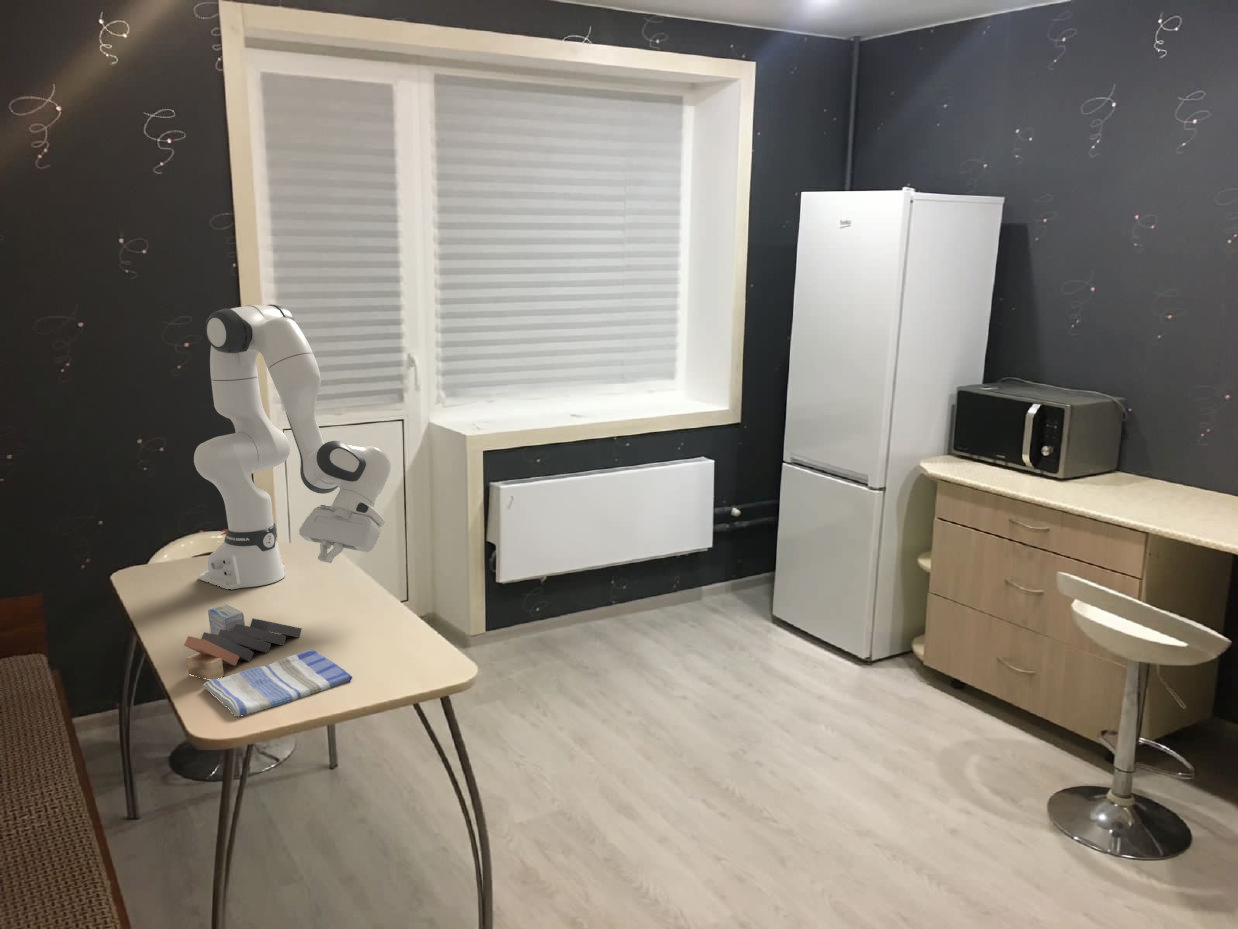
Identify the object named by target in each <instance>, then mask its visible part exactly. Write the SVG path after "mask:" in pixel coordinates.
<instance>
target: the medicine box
mask: <svg viewBox="0 0 1238 929" xmlns="http://www.w3.org/2000/svg"><path fill="white" fill-rule="evenodd" d="M207 612H208V622H209V630H210V634H214V635H218V634H219V632H220V629H222V630H227V631H232V632H234V629H235V626H236V624H239V625H244V626H246V624H245V615H244V612H243V611H241V610H238V608H235V607H233V606H231V605H229V604H223V605H219V606H215V607H213V608H210V609H208V610H207ZM244 648H246V647H244ZM246 649H248V650H249V648H246Z"/></svg>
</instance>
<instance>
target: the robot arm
mask: <svg viewBox="0 0 1238 929" xmlns="http://www.w3.org/2000/svg"><path fill="white" fill-rule="evenodd" d="M205 323H206V324H205V335H206V338H207V340H208V342H209V344H210V354H209V355H210V356H209V368H210V369H209V370H210V381H211V389H212V390H211V391H212V399H213V407H214V408H215V411H216V412H217V413H218V414H219V415H221V416H223V417H225V418H226V419H229V420H231V423H232V424H233V427H234V430H235V433H234V432H233V433H230V434H224V435H219V436H215V437H212V438H210V439H208V440H205V441H204V442H202V443H200V444H199V445H198V446H197V447H196V449H195V451H194V455H193V463H194V464H193V465H194V466H195V469H196V471H197V472H198V474H199V475H200V476H201V477H202V478H203V479H205V480H207V481H209V482H210V483H212V484H213V485H214V487H216V488H217V490H218V491H219V493H220V495H221V497H222V499H223V502H224V507H225V508H224V509H225V513H226V521H227V526H228V528H226V529H223V530H220V532H221V535H222V536H223V535H224V536H225V537H224V542H223V543H222V544H220V545H219V546H218V547H217V548H216V549H215V550H214V551H213V552H211V553H210V554H209V556H208V559H207V570H205V571H204V572H201V573H200V574H199V577H198V579H199V580H200V581H202V582H205V583H208V582H209V583H208V584H211V585H214V586H216V585H217V586H216V587H219V586H220V588H223V589H225V590H228V589H231V590H236V589H242V588H253V587H254V588H255V587H260V586H261V587H262V586H265V585H269V584H273V583H277V582H278V581H280V580H282V579H283V578H285V577H286V571H285V570H286V565H285V564H283V561H282V555H281V550H280V546H279V543H278V540H277V537H278V535H277V534H278V533H277V527H276V523H274V522H275V521H274V515H273V514H274V513H273V506H272V505H273V504H272V497H271V495H270V494H269V493H268V492H267V491H266V490H265V489H262V488H259V487H258V486H256V485H255V483H254V481H253V477H252V475H253V474H255V473H259V472H263V471H267V470H271V469H273V468H275V467H278V466H279V465H282V463H284V462H286V460H287V459H289V455H290V452H291V445H290V441H289V439H288V437H287V436H286V434H285V433H284V432H283V430H281V429H279V428H278V427H276V426H275V425H274V424H273V423H272V422H271V420H270V418H269V417H268V415H267V413H266V412H265V409H264V406H263V401H262V395H261V387H260V380H259V379H260V378H259V373H258V365H257V356H258V355H259V353H260V354H261V355H262V357H263V359H264V361H265V365H266V367H267V369H268V373H269V375H270V377H271V380H272V382H273V384H274V388H275V389H276V391H277V393H278V395H279V398H280V400H281V404H282V407H283V409H284V411H285V414H286V418H287V420H288V423H289V427H290V430H291V434H292V436H293V438H294V442H295V443H296V448H297V450H298V453H299V458H300V469H299V470H300V472H299V474H300V479H301V481H302V483H303V485H305V487H306V488H307V489H309V491H311V492H313V493H316V494H323V495H324V494H329V493H333V492H334V491H336V489H338V488H339V491H338V493H337V495H336V497H335V498H334V499H333V502H332V504H331V505H326V504H325V505H324V504H320V505H318V506H316V507H314V508H313V509H312V511H311V512H310V513H309V514H308V516H307V517H306V518H305V520H304V521H303V523H302V525H301V527H299V529H298V532H299V533H298V534H299V535H300V537H302V539H304V540H305V541H308V542H312V543H317V544H319V545H320V546H319V548H320V550H319V551H320V552H319V553H318V555H317V560H319V561H320V562H322V563H323V562H324V563H328V564H332V562H333V561H334V559H335V558H336V557H337V556H338V555H339V554H340V553H342V552H343V550H344V549H348V550H353V551H356V552H357V551H358V552H364V553H370V552H371V551H372V550H374V548H375V547H376V544H377V542H378V540H379V538H380V535H381V532H382V531H381V530H382V529H381V528H382V527H383V526H384V525H385V523H386V520H385V519H384V517H383V516H382V515H381V514H380V513H379V512H378V511H377V510H376V509H374V507H375V502H376V499H377V497H379V495H380V494H381V493H382V491H383V489H384V487H385V485H386V482H387V481H388V478H389V475H390V473H391V469H392V463H391V460H390V458H389V457H388V455H387V453H385V452H384V451H383V450H381V449H380V448H377V447H375V446H374V445H373V446H371V445H368V446H355V445H350V444H346V442H342V441H339V440H331V441H327V442H325V441H324V438H323V436H322V432H321V429H320V427H319V424H318V421H317V417H316V403H317V398H318V394H319V392H320V388H321V384H322V377H321V373H320V368H319V364H318V361H317V359H316V357H315V354H314V351H313V350H312V348H311V345H310V344H309V343H310V342H308V340H307V338H306V336H305V334H304V333H303V331H302V329H301V328H300V326H299V325H298V323H296V321H295V319H294V316H293V314H292V313H291V311H290V310H289V309H288V308H286V307H284V306H281V305H276V304H267V305H264V304H249V305H245V306H239V307H232V308H222V309H219V310H216V311H214V312H212V313H211V314H210V315H209V316H208V318H207V319H206V322H205ZM331 547H332V548H331ZM330 549H331V550H330ZM328 550H330V551H329V552H328ZM284 569H285V570H284Z"/></svg>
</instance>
